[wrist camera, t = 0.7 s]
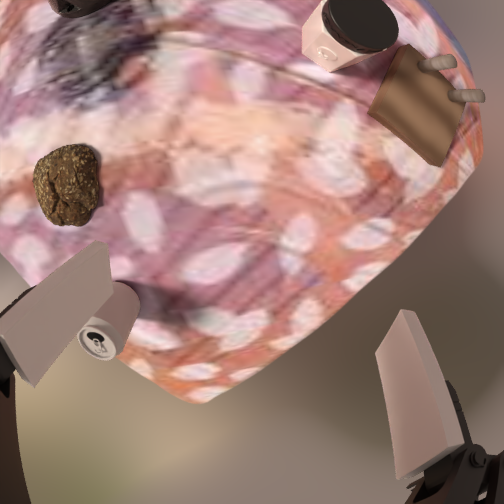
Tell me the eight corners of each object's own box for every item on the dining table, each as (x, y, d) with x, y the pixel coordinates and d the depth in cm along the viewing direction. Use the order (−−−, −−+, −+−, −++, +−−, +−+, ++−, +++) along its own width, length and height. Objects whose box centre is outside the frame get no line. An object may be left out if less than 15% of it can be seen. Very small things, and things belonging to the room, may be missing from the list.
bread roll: (36, 155, 31) (18, 159, 26) (96, 137, 31) (78, 139, 27) (49, 229, 36) (33, 240, 31) (107, 221, 36) (93, 233, 32)
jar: (286, 46, 28) (309, 11, 17) (315, 11, 25) (346, -26, 14) (340, 83, 30) (384, 66, 19) (366, 47, 28) (411, 25, 17)
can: (138, 280, 40) (113, 327, 29) (145, 317, 43) (125, 368, 32) (98, 277, 40) (66, 320, 29) (107, 313, 43) (82, 360, 32)
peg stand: (429, 164, 35) (470, 176, 26) (367, 113, 32) (406, 110, 23) (455, 101, 31) (495, 102, 21) (398, 47, 27) (437, 33, 18)
